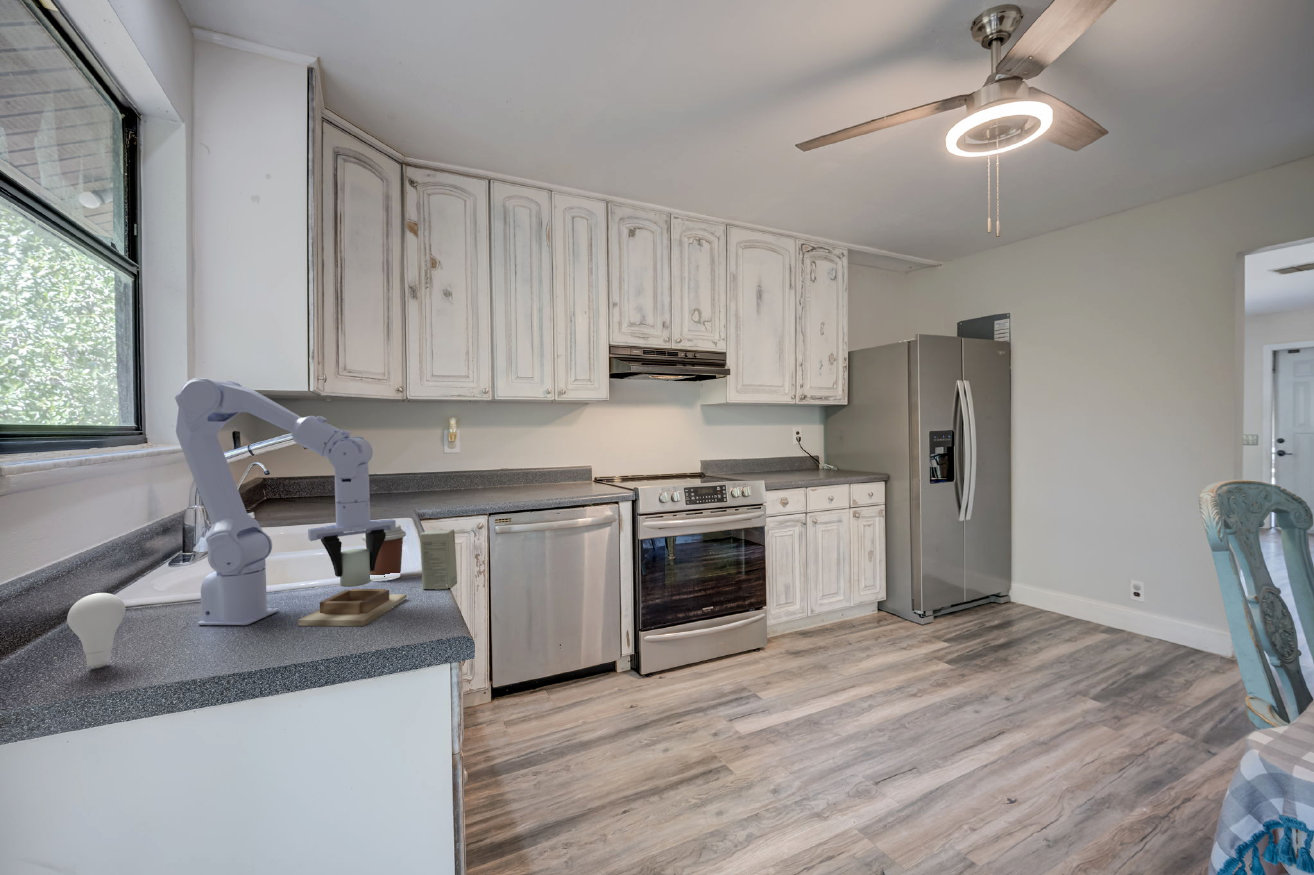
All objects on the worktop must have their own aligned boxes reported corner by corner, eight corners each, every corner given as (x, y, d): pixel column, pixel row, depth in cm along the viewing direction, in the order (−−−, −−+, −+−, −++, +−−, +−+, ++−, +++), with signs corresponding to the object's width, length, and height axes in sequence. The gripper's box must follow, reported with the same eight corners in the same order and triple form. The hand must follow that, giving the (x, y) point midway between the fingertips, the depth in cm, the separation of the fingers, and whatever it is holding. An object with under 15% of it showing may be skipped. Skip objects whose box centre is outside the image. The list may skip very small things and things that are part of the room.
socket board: (298, 625, 100) (297, 608, 100) (349, 599, 115) (348, 584, 115) (363, 625, 99) (363, 609, 99) (406, 599, 114) (406, 584, 114)
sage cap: (334, 586, 105) (333, 554, 104) (351, 579, 110) (350, 548, 109) (360, 587, 104) (359, 554, 104) (375, 579, 109) (374, 548, 109)
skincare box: (457, 583, 125) (456, 528, 124) (451, 589, 120) (449, 532, 120) (428, 584, 125) (426, 529, 124) (420, 590, 120) (419, 533, 120)
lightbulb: (57, 675, 81) (54, 599, 81) (105, 657, 87) (102, 586, 87) (92, 677, 80) (89, 600, 80) (138, 659, 86) (135, 588, 86)
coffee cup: (405, 581, 128) (404, 528, 127) (360, 585, 125) (358, 531, 124) (408, 571, 136) (406, 521, 136) (366, 575, 133) (364, 524, 133)
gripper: (312, 507, 99) (315, 584, 99) (399, 499, 108) (402, 569, 109) (304, 503, 104) (307, 577, 104) (388, 496, 114) (390, 563, 114)
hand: (354, 572), depth 107 cm, fingers closed on sage cap, 5 cm apart
